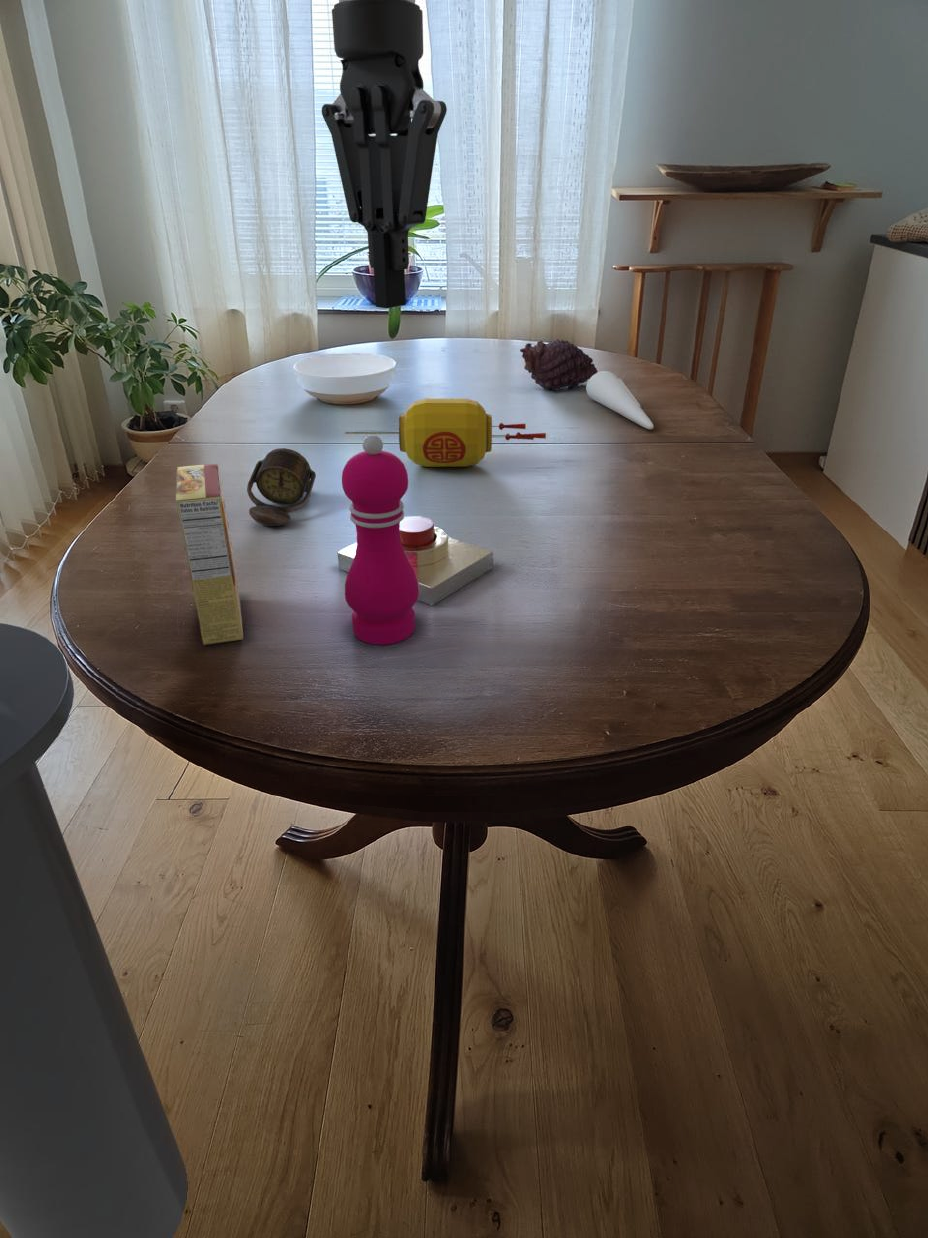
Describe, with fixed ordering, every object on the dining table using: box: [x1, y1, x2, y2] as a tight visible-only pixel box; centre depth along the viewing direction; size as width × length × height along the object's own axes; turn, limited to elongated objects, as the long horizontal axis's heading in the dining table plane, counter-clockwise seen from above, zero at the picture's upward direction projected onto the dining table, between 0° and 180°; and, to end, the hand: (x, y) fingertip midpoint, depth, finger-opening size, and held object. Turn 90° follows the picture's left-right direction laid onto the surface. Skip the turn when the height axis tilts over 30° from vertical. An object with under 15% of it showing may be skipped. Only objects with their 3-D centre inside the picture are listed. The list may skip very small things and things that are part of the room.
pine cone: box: [519, 339, 598, 391], centre depth 157 cm, size 18×10×10 cm
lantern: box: [344, 398, 547, 468], centre depth 118 cm, size 10×10×30 cm
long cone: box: [585, 370, 654, 431], centre depth 141 cm, size 6×6×19 cm
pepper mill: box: [341, 434, 419, 646], centre depth 74 cm, size 7×7×20 cm
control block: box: [337, 525, 494, 607], centre depth 90 cm, size 14×11×4 cm
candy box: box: [175, 463, 244, 646], centre depth 77 cm, size 9×4×15 cm, turn 17°
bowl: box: [292, 352, 397, 405], centre depth 151 cm, size 20×20×6 cm
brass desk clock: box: [246, 447, 317, 527], centre depth 104 cm, size 7×13×10 cm
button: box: [399, 515, 435, 547], centre depth 88 cm, size 4×4×2 cm
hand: (390, 305), depth 77 cm, fingers closed
